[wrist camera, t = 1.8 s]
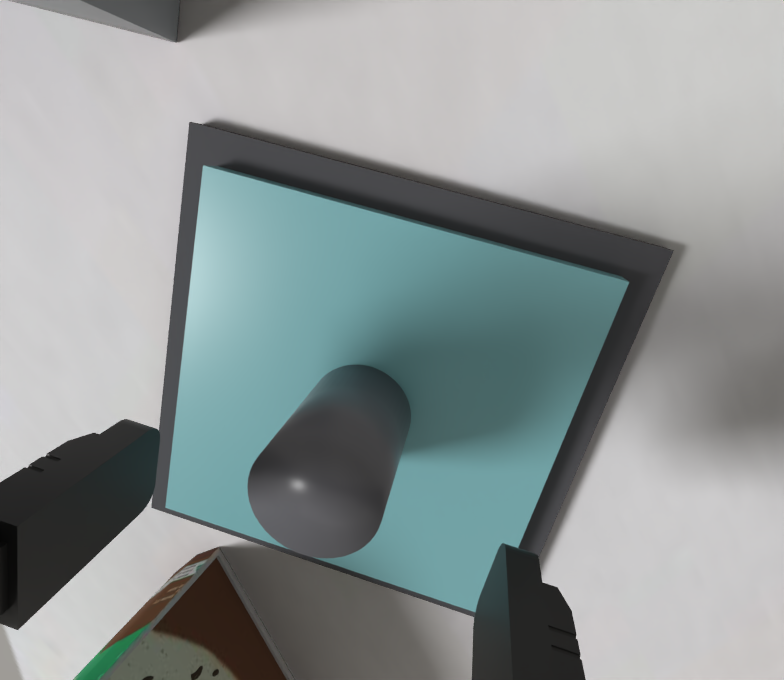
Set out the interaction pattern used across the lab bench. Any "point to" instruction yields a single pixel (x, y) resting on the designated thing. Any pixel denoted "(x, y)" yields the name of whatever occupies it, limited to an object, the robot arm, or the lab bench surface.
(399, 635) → the lab bench surface
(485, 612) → the robot arm
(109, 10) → the tub
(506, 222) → the mat
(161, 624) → the food container
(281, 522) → the lid
